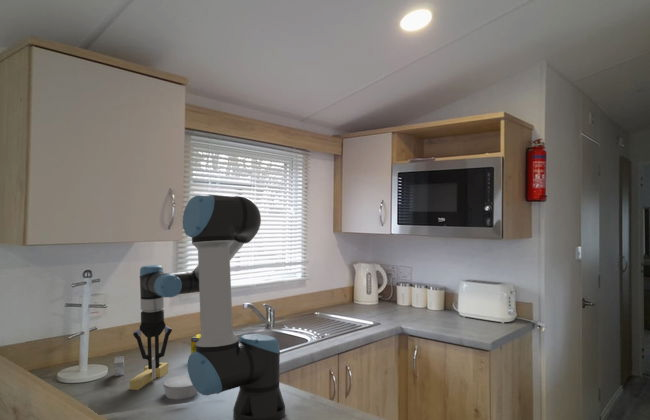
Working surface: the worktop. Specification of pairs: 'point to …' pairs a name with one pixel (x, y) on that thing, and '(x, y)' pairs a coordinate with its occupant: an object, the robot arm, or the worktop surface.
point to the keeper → (119, 366)
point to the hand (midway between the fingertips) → (153, 377)
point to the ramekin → (179, 387)
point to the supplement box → (194, 342)
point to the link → (147, 376)
